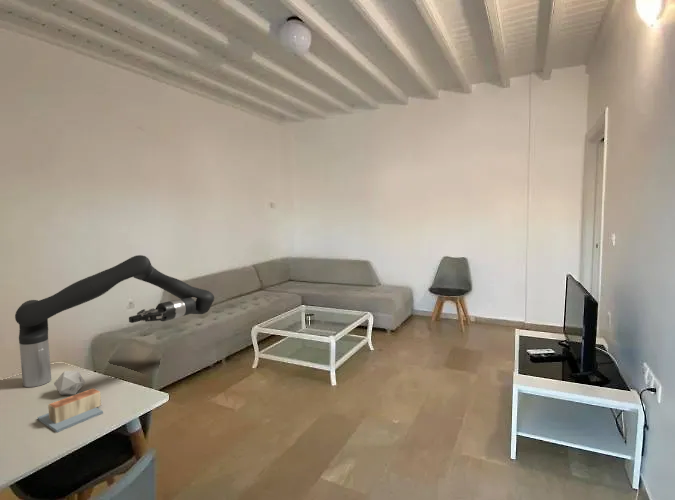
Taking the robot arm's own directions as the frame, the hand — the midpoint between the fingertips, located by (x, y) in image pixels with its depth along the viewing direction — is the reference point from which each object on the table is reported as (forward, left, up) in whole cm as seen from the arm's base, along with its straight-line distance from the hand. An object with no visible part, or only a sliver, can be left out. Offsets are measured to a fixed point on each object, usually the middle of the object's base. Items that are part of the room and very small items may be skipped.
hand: (130, 320), depth 150 cm
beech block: (0, -13, -25) cm, 28 cm away
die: (-19, -14, -28) cm, 37 cm away
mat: (0, -22, -28) cm, 36 cm away
